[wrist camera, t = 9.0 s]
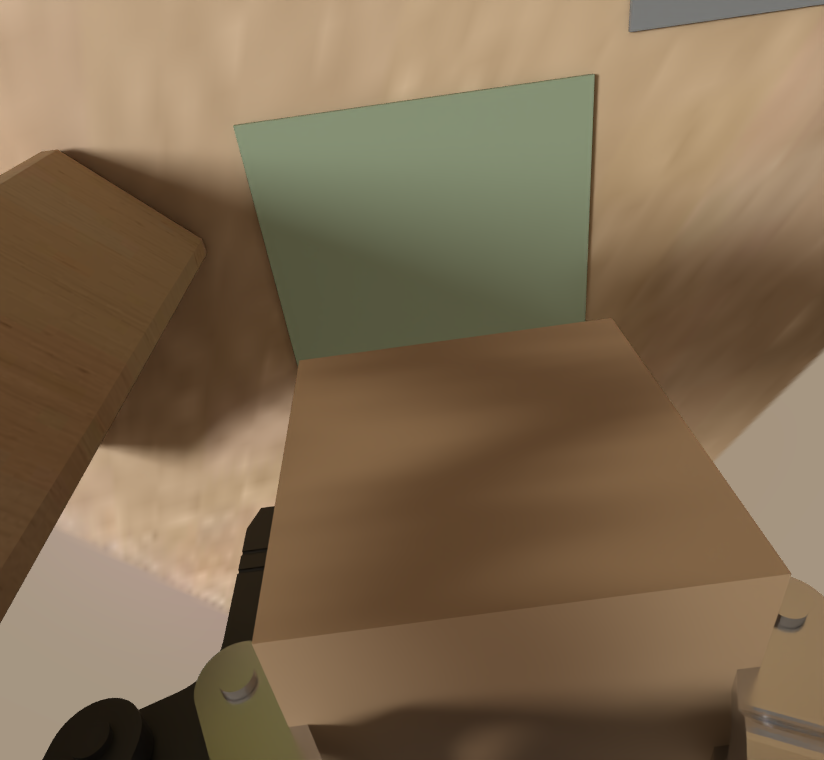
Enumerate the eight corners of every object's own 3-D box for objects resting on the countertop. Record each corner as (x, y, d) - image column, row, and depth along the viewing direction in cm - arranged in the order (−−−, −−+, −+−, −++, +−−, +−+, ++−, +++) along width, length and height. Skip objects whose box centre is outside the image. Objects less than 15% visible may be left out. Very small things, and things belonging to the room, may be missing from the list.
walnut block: (611, 317, 12) (791, 573, 7) (597, 534, 15) (711, 813, 10) (299, 360, 12) (251, 643, 7) (353, 566, 15) (347, 858, 10)
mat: (592, 73, 19) (594, 74, 19) (582, 374, 25) (582, 376, 25) (234, 125, 19) (233, 126, 19) (310, 410, 25) (310, 413, 25)
